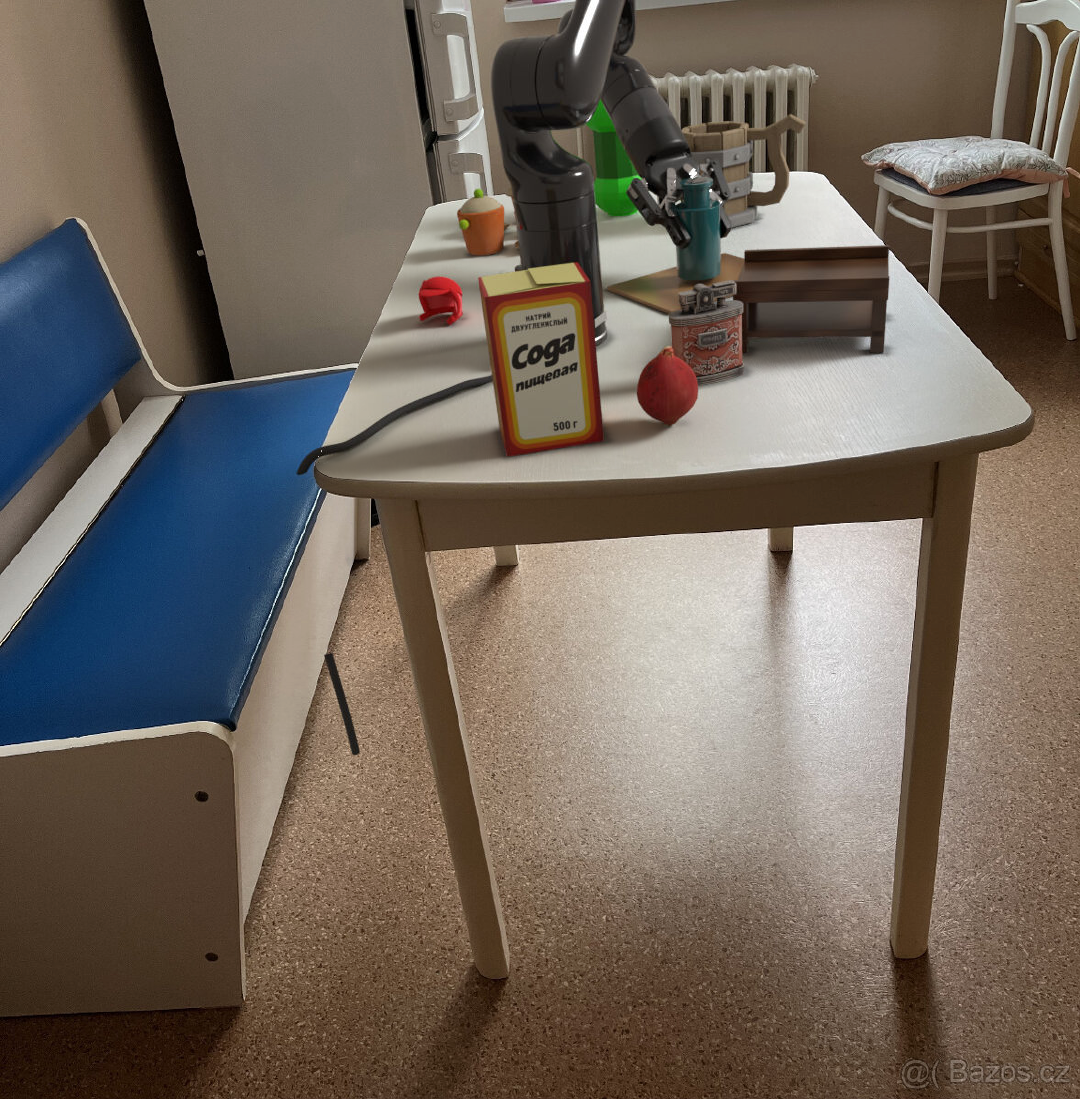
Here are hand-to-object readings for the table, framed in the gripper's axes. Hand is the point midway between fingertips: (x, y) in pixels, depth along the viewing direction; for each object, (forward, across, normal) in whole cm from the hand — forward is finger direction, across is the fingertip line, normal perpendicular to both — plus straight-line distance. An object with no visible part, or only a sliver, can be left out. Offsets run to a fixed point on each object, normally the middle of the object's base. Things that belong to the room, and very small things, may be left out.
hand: (706, 239), depth 133 cm
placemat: (+3, 0, +6) cm, 6 cm away
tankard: (-12, +24, +21) cm, 34 cm away
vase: (+2, 0, +5) cm, 5 cm away
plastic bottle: (-26, +15, +36) cm, 47 cm away
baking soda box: (+23, -39, -14) cm, 48 cm away
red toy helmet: (-6, -32, +15) cm, 36 cm away
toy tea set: (-28, -6, +37) cm, 47 cm away
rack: (+21, -3, -12) cm, 24 cm away
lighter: (+22, -19, -14) cm, 32 cm away
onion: (+27, -29, -19) cm, 44 cm away
